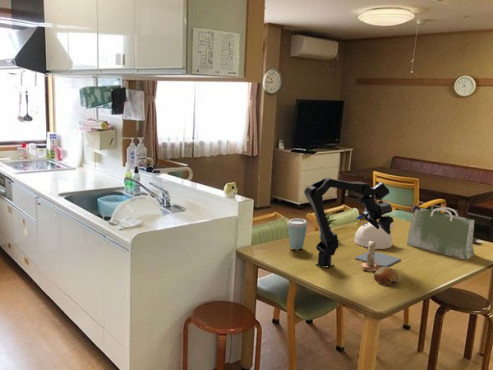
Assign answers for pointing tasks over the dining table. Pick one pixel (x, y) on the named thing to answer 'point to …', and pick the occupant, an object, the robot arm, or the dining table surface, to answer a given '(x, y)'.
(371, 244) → the cylinder on pink base
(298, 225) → the disposable coffee cup
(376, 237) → the kettle
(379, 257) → the mat
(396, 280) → the bread roll
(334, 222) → the house plant
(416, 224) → the grocery bag
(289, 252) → the dining table surface
